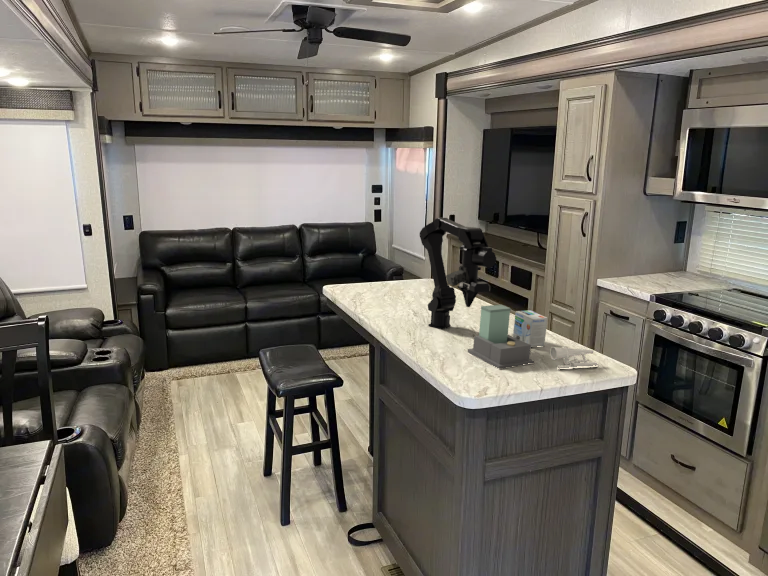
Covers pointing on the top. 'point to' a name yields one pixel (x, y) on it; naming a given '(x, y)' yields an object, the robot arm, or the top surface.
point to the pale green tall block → (494, 323)
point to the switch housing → (502, 352)
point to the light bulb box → (530, 328)
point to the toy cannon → (569, 352)
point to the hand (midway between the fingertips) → (468, 306)
